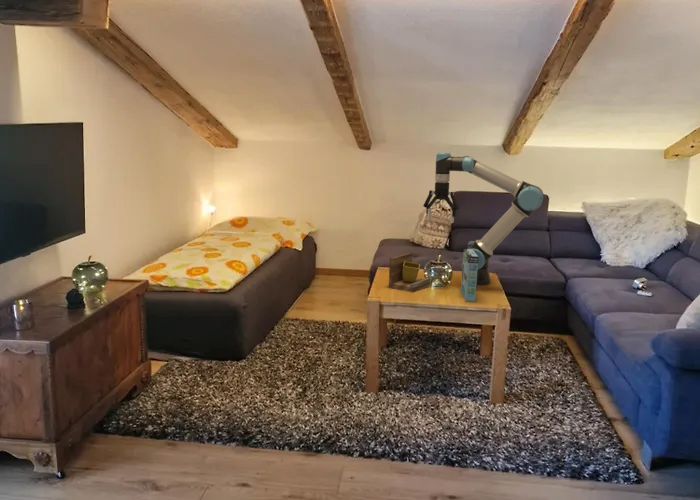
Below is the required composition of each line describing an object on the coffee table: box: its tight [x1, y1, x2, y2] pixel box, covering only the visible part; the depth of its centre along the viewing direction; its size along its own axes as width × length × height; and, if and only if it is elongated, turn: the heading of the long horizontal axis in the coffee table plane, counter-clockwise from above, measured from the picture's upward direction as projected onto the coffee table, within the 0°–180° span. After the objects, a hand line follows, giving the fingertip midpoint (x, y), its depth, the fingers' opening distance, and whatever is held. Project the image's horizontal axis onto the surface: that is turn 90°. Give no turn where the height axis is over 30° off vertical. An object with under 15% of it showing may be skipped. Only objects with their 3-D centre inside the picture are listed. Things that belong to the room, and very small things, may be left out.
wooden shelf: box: [388, 252, 430, 293], centre depth 328 cm, size 15×20×16 cm
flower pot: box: [402, 261, 421, 282], centre depth 328 cm, size 9×9×9 cm
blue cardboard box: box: [460, 248, 479, 303], centre depth 309 cm, size 20×5×23 cm, turn 177°
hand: (440, 221), depth 330 cm, fingers open, 13 cm apart
